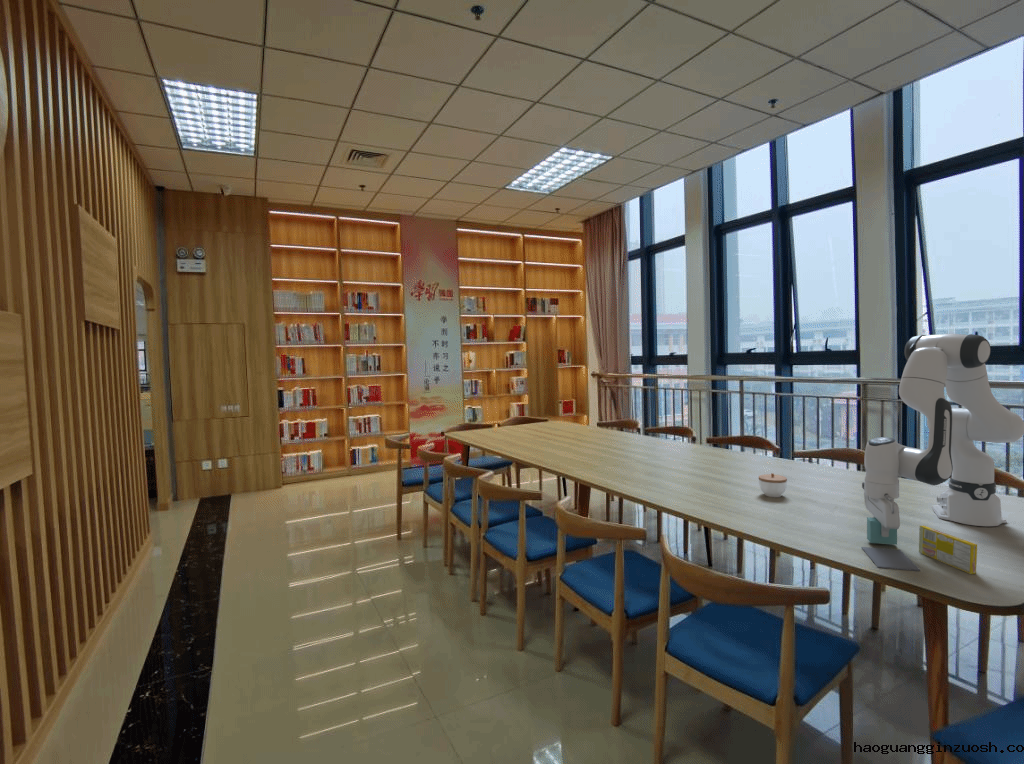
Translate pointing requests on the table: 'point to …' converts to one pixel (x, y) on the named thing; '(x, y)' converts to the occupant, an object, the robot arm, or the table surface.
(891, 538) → the teal rectangular prism
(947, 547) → the candy box
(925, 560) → the table surface
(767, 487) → the lidded jar
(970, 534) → the table surface
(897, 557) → the felt mat
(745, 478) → the table surface
